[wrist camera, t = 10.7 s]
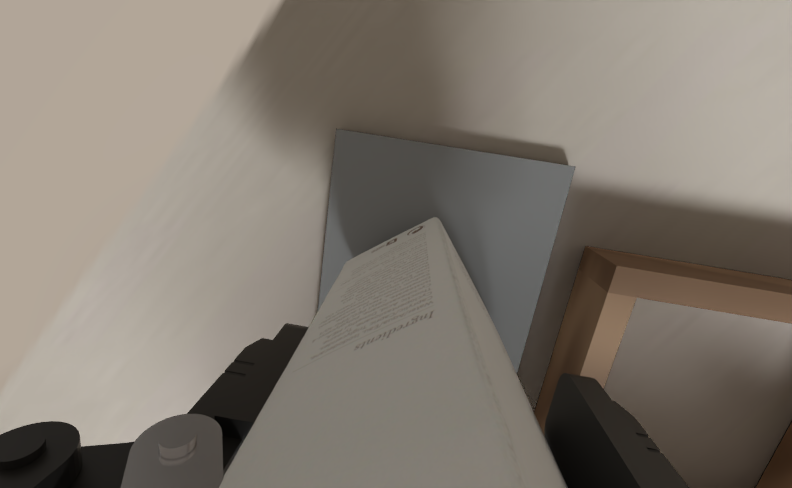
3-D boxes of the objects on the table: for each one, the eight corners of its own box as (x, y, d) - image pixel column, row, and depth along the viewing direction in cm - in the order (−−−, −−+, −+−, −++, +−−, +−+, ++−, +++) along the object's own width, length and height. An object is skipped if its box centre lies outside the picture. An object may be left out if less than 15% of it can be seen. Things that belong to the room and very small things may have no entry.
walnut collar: (760, 520, 18) (813, 579, 15) (514, 475, 18) (528, 526, 16) (888, 295, 14) (981, 326, 12) (585, 245, 15) (616, 265, 12)
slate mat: (498, 420, 17) (501, 430, 17) (312, 387, 18) (309, 395, 17) (569, 165, 14) (575, 166, 13) (339, 129, 14) (336, 128, 14)
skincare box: (341, 261, 14) (-18, 762, 3) (443, 209, 14) (555, 610, 2) (414, 383, 16) (383, 1091, 4) (512, 342, 15) (845, 1094, 3)
